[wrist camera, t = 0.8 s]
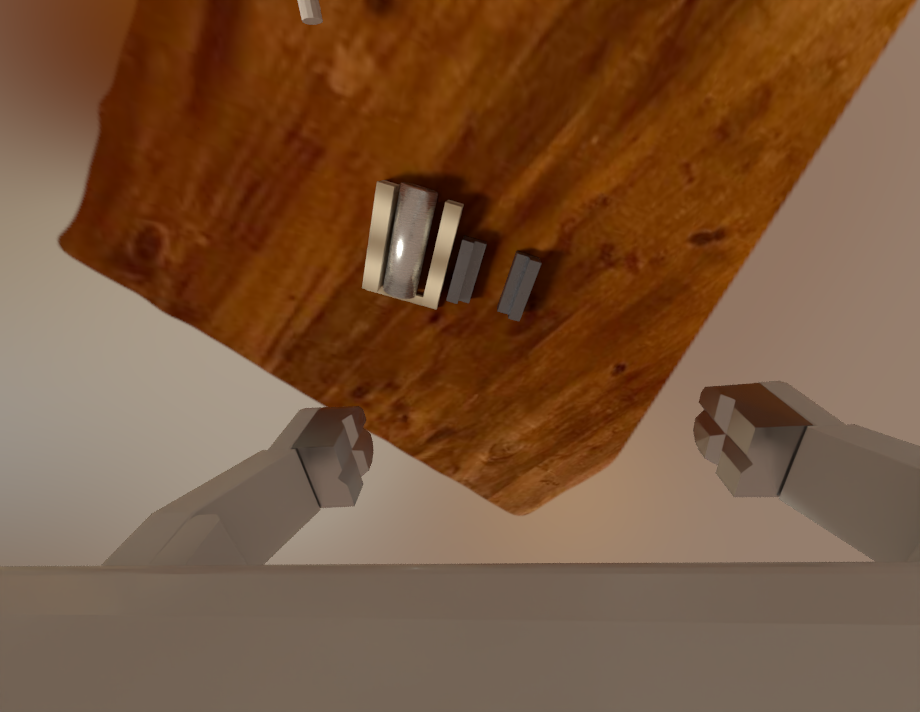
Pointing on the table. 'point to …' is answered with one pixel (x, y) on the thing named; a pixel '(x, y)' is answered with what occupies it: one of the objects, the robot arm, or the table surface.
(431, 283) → the beige u-shaped bracket
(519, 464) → the table surface
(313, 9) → the pipe connector
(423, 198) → the axle
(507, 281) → the dark blocks
